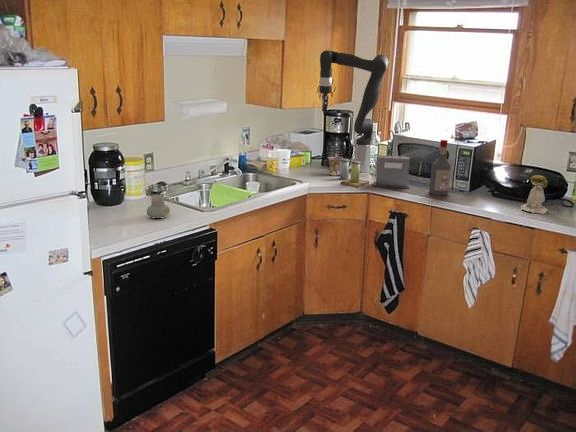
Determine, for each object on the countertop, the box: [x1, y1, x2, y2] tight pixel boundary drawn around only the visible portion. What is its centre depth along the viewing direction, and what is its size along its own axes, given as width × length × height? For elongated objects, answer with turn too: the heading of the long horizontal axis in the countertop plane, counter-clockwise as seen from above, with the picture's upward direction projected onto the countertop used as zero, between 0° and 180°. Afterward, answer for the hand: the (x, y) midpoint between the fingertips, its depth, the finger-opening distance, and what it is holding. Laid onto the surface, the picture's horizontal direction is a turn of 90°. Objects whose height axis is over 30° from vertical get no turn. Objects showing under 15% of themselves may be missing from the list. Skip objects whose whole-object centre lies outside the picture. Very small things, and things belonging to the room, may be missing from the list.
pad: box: [340, 178, 370, 188], centre depth 351 cm, size 12×12×1 cm
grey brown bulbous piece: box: [146, 194, 171, 219], centre depth 281 cm, size 11×8×10 cm
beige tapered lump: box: [520, 174, 548, 215], centre depth 305 cm, size 12×13×18 cm
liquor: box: [428, 139, 452, 196], centre depth 331 cm, size 9×9×30 cm
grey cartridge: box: [339, 158, 350, 181], centre depth 360 cm, size 5×5×12 cm
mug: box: [323, 156, 344, 177], centre depth 369 cm, size 12×9×11 cm
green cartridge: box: [350, 160, 361, 183], centre depth 349 cm, size 5×5×12 cm
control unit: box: [373, 154, 411, 189], centre depth 346 cm, size 9×20×17 cm, turn 84°
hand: (324, 112), depth 362 cm, fingers open, 8 cm apart
